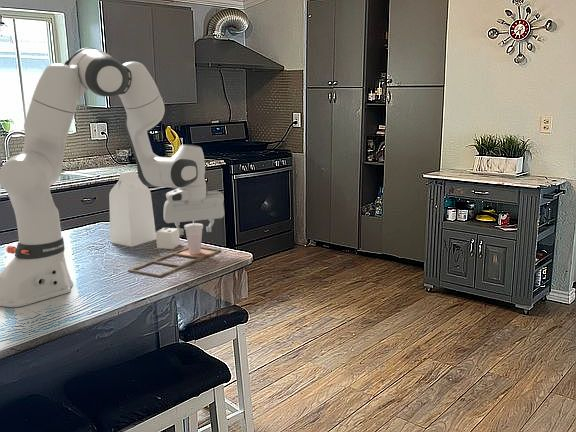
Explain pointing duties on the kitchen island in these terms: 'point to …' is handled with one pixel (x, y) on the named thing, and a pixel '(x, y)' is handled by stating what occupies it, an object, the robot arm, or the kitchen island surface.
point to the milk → (131, 211)
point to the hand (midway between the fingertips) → (195, 233)
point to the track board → (182, 253)
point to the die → (167, 238)
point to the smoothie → (194, 237)
